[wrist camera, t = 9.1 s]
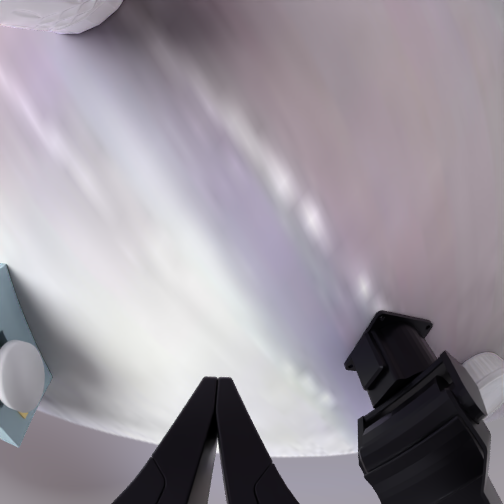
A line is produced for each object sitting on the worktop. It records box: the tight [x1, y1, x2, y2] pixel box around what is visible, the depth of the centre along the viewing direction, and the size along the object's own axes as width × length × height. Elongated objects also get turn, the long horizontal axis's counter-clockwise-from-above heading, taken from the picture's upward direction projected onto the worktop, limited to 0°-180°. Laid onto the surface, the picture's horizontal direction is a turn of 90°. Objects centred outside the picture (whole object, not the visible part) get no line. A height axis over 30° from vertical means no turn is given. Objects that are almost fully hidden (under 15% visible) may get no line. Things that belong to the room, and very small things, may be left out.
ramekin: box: [461, 352, 504, 420], centre depth 27 cm, size 11×11×5 cm
